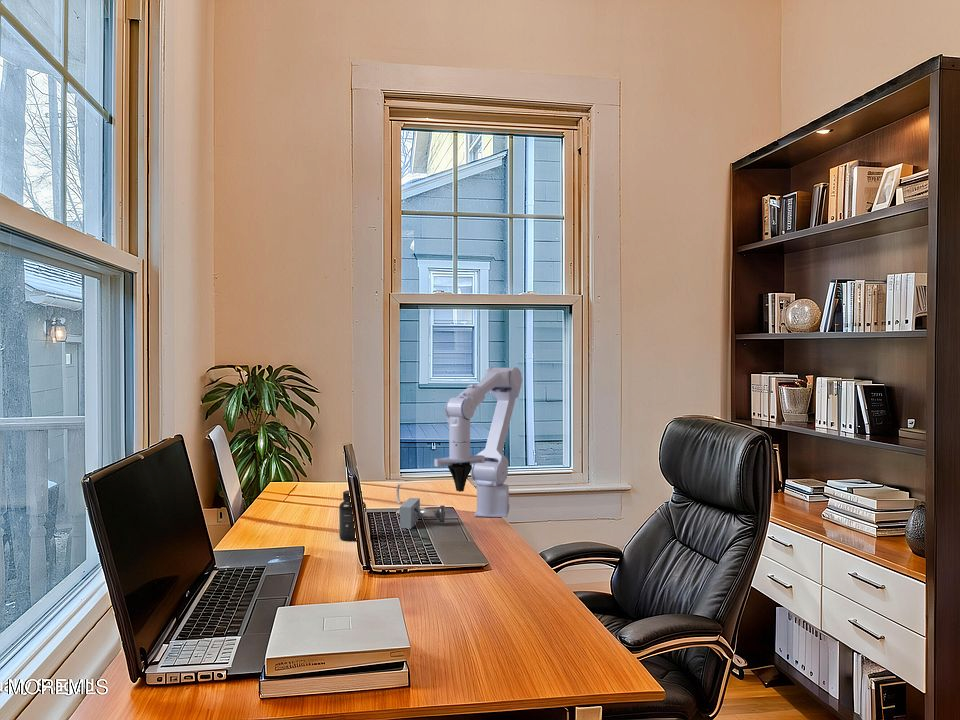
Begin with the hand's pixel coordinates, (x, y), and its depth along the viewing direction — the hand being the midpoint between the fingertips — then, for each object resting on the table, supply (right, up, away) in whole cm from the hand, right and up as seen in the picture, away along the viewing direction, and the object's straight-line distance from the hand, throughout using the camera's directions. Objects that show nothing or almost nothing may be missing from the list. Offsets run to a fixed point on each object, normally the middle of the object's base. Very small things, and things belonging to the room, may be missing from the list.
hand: (460, 490), depth 201 cm
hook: (-17, -10, +21) cm, 29 cm away
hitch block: (-14, -10, +2) cm, 17 cm away
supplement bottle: (-27, -10, -13) cm, 32 cm away
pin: (-9, -9, +1) cm, 13 cm away
